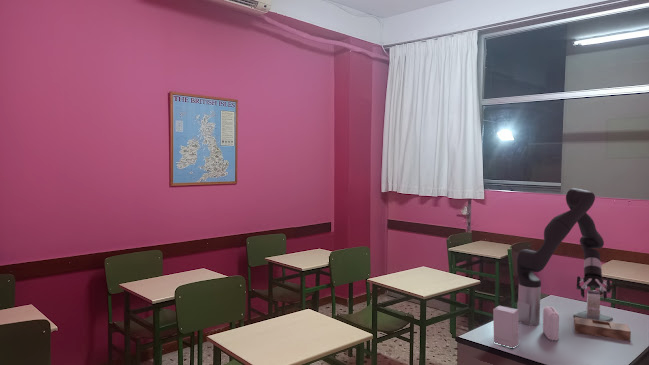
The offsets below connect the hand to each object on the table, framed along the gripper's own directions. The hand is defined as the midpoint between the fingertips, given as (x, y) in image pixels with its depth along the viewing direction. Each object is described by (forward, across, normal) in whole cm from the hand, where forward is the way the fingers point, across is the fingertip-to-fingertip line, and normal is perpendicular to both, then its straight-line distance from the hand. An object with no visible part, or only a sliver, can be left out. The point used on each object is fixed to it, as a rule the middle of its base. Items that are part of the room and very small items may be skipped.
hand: (593, 298), depth 215 cm
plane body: (+22, +1, -9) cm, 24 cm away
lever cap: (+7, 0, +4) cm, 8 cm away
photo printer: (+32, -18, -19) cm, 41 cm away
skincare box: (+45, -34, -32) cm, 65 cm away
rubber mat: (+8, 0, +5) cm, 9 cm away
